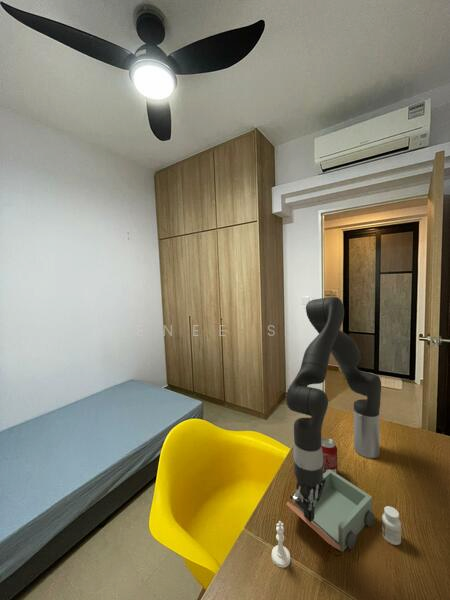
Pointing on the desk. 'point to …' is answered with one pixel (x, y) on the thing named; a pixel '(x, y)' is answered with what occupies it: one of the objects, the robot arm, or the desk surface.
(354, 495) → the truck bed
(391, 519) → the pill bottle
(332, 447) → the soda can
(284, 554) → the chess piece
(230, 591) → the desk surface
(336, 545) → the panel
